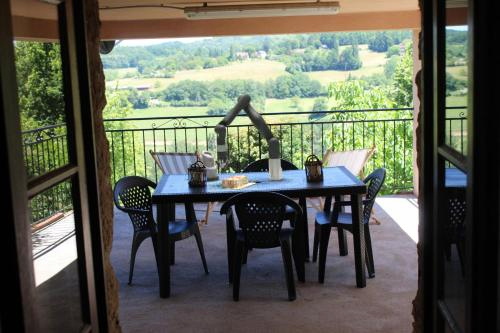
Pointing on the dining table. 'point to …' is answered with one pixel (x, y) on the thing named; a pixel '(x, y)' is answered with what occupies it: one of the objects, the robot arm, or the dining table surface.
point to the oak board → (242, 186)
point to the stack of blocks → (235, 181)
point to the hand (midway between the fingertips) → (223, 172)
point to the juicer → (209, 166)
